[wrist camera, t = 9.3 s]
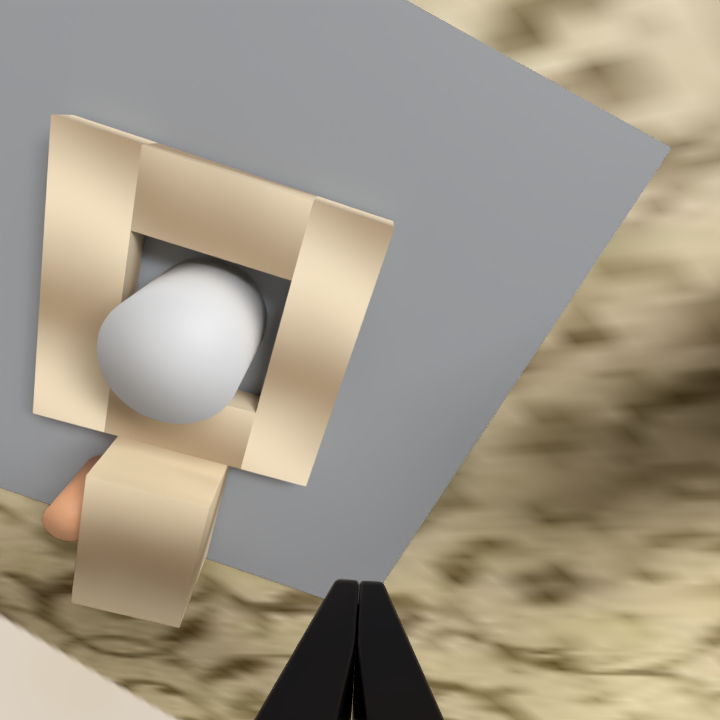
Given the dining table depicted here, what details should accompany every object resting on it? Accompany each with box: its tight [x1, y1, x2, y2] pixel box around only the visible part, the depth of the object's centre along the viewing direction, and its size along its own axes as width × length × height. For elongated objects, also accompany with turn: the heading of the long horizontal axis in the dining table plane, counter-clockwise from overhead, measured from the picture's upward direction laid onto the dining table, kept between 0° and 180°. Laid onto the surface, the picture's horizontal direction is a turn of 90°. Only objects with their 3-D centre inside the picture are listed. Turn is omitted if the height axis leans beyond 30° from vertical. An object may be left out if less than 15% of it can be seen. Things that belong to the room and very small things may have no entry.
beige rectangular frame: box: [33, 114, 394, 628], centre depth 17 cm, size 16×10×4 cm, turn 162°
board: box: [0, 0, 671, 599], centre depth 17 cm, size 22×22×5 cm
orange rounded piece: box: [42, 455, 102, 541], centre depth 20 cm, size 2×2×3 cm
